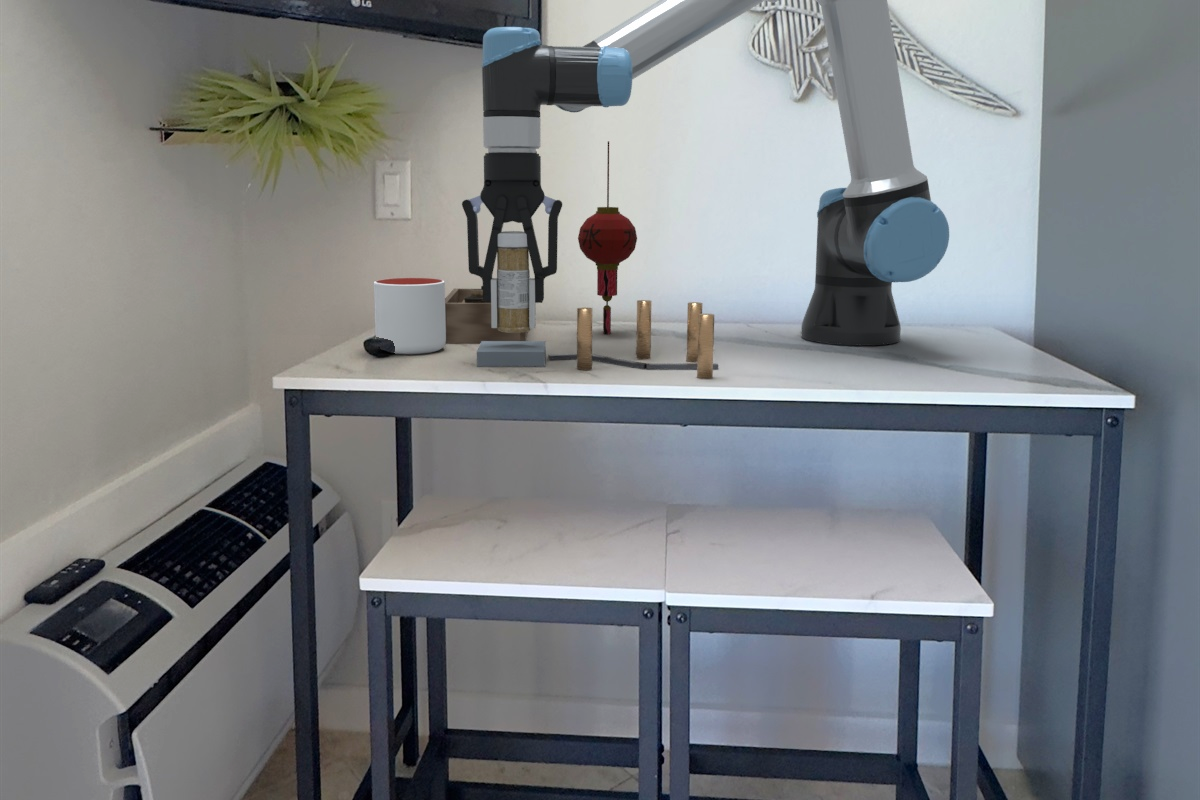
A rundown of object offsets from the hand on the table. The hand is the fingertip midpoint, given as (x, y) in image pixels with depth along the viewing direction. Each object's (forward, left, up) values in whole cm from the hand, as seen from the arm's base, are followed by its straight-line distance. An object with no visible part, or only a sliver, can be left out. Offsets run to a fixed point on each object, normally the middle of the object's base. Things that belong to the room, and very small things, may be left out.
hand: (513, 326), depth 149 cm
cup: (+15, -9, -5) cm, 18 cm away
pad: (0, 0, -5) cm, 5 cm away
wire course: (-16, +5, -5) cm, 17 cm away
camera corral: (+5, -25, -5) cm, 26 cm away
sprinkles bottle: (0, 0, -1) cm, 1 cm away
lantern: (-14, -25, -5) cm, 29 cm away
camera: (+5, -24, -5) cm, 25 cm away
